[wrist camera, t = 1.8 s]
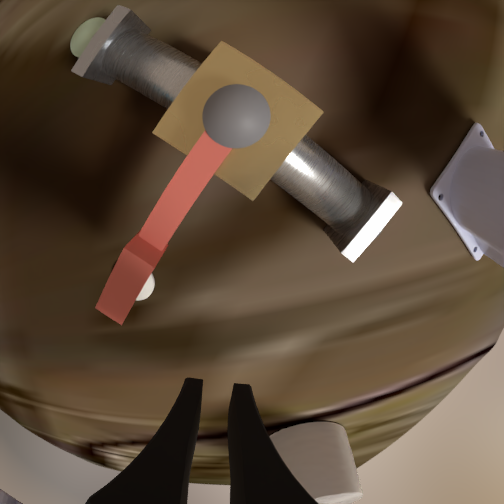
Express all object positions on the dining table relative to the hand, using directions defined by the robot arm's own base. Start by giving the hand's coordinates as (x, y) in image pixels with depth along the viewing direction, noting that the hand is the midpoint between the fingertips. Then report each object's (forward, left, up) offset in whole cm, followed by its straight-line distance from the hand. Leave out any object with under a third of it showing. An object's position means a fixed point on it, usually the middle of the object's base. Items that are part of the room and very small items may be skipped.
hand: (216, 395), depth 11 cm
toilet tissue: (-22, +15, -10) cm, 28 cm away
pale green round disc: (+18, -9, -10) cm, 22 cm away
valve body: (+6, -9, -10) cm, 14 cm away
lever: (+5, -4, -6) cm, 9 cm away
